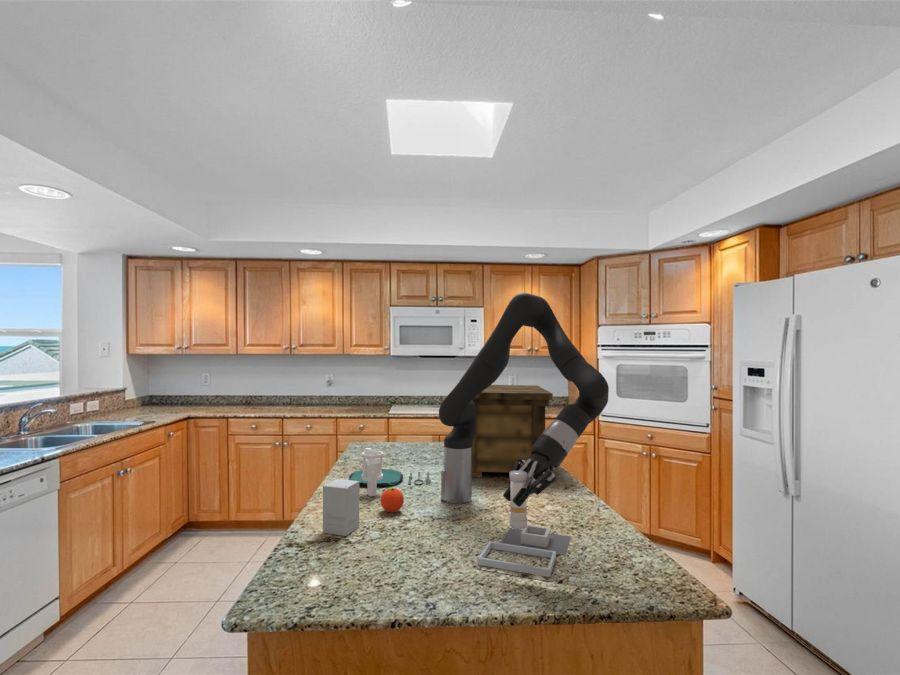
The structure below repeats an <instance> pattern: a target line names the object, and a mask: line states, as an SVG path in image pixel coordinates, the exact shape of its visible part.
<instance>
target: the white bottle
mask: <svg viewBox="0 0 900 675" xmlns="http://www.w3.org/2000/svg"><path fill="white" fill-rule="evenodd" d="M509 476H510V478H509V481H510V485H511V497H510V501H509V503H510V505H509V508H510V509H509V511H510V516H509V528H515V529H522V530H523V529H524V528H526V527H527V525H528V518H527V510H528V509H527V499H526V500H525V501H524V503H523V504H522V505H521V506H520V507H518V506H517V505H516V504H515V503H514V502H513V499H514V497H515V496H516V495H517V493H518V492H519V491H520V489H521V488H524V487H523V486H524V484H525V483H526V481H527V472H525V471H511V472H509Z"/></svg>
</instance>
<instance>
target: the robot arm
mask: <svg viewBox="0 0 900 675" xmlns="http://www.w3.org/2000/svg"><path fill="white" fill-rule="evenodd" d="M523 327H529V328H533V329H534V330H536V331H537V332H538V333H539V334H540V335H541V336H542V337H543V338H544V341H545V343H546V345H547V349H548V354H549V356H550V359H551V361H552V362H553V363H554V365H555V367H556V368H557V370H558V371H559V372H560V374H561V375H562V376H563V377H564V378H565V380H567V381H569V382H572V383H573V384H574V385H575V387H576V388H577V390H578V396H577V398H576V400H574V402H573V403H570V404H567V405H565V406H564V407H563V408H562V409H561V411H560V412H559V413H558V414H557V416H556V417H555V418H554V420H553V421H552V422H551V423H550V424H548V426H547V427H545V431H544V432H543V433H542V434H541V436H540V437H539V438H538V440H537V441H536V442H535V443H534V445H533V446H532V448H531V450H532V455H530V456H529V457H528V458H527V459H526V460H522V459H521V458H518V459H517V461H516V463H515V465H514V467H513V469H512V471H525V472H527V481H526V483H525V484H524V486H523V487H524V488H521V489H520V491H519V492H518V493H517V495H516V496H515V497H514V499H513V502H514V503H515V504H516V505H517V506H518V507H520V506H521V505H522V504H523V503H524V501H525V500H526V501H527V500H528V497H529V496H532V495H534V494H535V495H537V496H539V495H540V494H541V493H542V492H543V491H544V490H545V489H547V488H548V487H549V486H551V484H553V483H554V482H555V481H557V478H558V477H557V476H556V475H555V473H554V472H553V469H555V470H557V469H558V468H559V467H560V465H562V462H563V461H564V460H565V458H566V457H567V456H568V455H569V453H570V452H571V451H572V450H573V448H574V447H575V445H576V443H577V441H578V440H579V438H580V437H581V435H582V434H583V433H584V432H585V430H586V429H587V427H588V426H589V424H591V423H592V422H593V421H595V419H596V418H597V417H599V415H601V413H602V412H603V411H604V409H605V408H606V407H607V404H608V402H609V395H610V394H609V392H610V391H609V389H610V388H609V383H608V382H607V380H606V378H605V376H603V374H602V373H601V372H600V371H599V369H596V368H595V367H594V366H593V365H591V364H590V363H589V362H587V360H586V359H585V357H584V356H583V355H582V354H581V352H580V351H579V350H578V348H577V347H576V345H574V343H573V342H572V341H571V340H570V338H569V336H567V334H566V333H565V331H564V329H563V327H562V326H561V324H560V322H559V320H558V319H557V317H556V314H555V313H554V311H553V309H552V308H551V306H550V304H549V303H548V301H547V300H546V299H545V298H543V297H542V296H539V295H535V294H532V293H527V292H519V293H517V294H516V295H514V296H513V297H512V298H511V300H510V301H509V302H508V304H507V306H506V308H505V309H504V311H503V313H502V315H501V317H500V320H499V321H498V323H497V324H496V326H495V328H494V329H493V331H492V333H491V334H490V336H489V337H488V339H487V340H486V342H485V344H484V345H483V347H482V348H481V349H480V350H479V352H478V353H477V355H476V356H475V357H474V359H473V360H472V362H471V364H470V365H469V367H467V370H466V371H465V373H464V374H463V375H462V377H461V378H460V380H459V381H458V383H456V385H455V386H454V387H453V389H452V390H451V391H450V392H449V394H447V396H446V397H445V398H444V399H443V400H442V402H441V404H440V406H439V409H438V418H439V420H440V422H441V424H443V425H444V426H446V427H453V428H452V430H451V431H450V432H449V433H448V434H447V435H446V436H445V437H444V439H443V469H442V470H441V472H440V473H441V474H440V476H441V479H440V480H441V483H440V486H441V488H440V489H441V491H440V493H441V494H440V500H441V501H445V502H447V503H451V504H465V503H469V502H471V501H472V489H473V487H472V486H473V484H472V483H473V479H472V478H473V477H472V442H473V439H474V436H475V423H476V409H475V405H474V402H473V401H472V399H473V398H474V397H475V396H477V395H478V394H479V393H481V392H482V391H483V390H485V389H486V388H488V387H489V386H490V385H494V383H495V382H496V381H497V379H499V377H500V376H501V375H502V373H503V372H504V370H505V369H506V367H507V365H508V364H509V361H510V353H511V344H512V341H513V339H514V337H515V336H516V335H517V333H518V332H519V331H520V330H521V328H523ZM508 476H509V479H510V475H508ZM502 496H503V498H504V499H506V501H507V502H510V497H511V484H510V485H509V486H508V487H507V488H506V490H505V491H504V493H503V494H502Z"/></svg>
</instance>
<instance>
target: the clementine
mask: <svg viewBox="0 0 900 675" xmlns="http://www.w3.org/2000/svg"><path fill="white" fill-rule="evenodd" d="M382 491H383V492H382V494H381V496H380V505H381V507H382V509H383V510H384V511H386V512H387V513H396V512H398V511H400V509H401V508H403V505H404V502H405V499H404V498H405V497H404V495H403V493H402V491H400V490H399V489H398V488H395V487H387V488H384V489H383V490H382Z"/></svg>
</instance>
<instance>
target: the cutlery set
mask: <svg viewBox="0 0 900 675" xmlns="http://www.w3.org/2000/svg"><path fill="white" fill-rule="evenodd" d="M362 474H363V469H360V470H355V471H353V472H352V473H350V475H349V476H348V480H352V481H359V485H363V486H367V485H368V481H365V480H362ZM382 474H383V479H381V480H377V486H387V485H390V486H394V485H398V484H399V482H401V481H403V479H404V475H403V474H402V471H399V470H396V469H386V468H385V469H384V468H382ZM409 474H410V475H409V477H408V485H409V486H411V484H412V480H413V476H412V475H413V472H410V473H409ZM417 474H418V476H417V478H418V479H415V480H414V484H415V485H418V486H420V485H421V484H424V482H425V486H431V483H432V479H431V478H430V472H429V471H427V473H426V479H425V481H424V480H422V479H421V471H417ZM418 482H420V483H418Z"/></svg>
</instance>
